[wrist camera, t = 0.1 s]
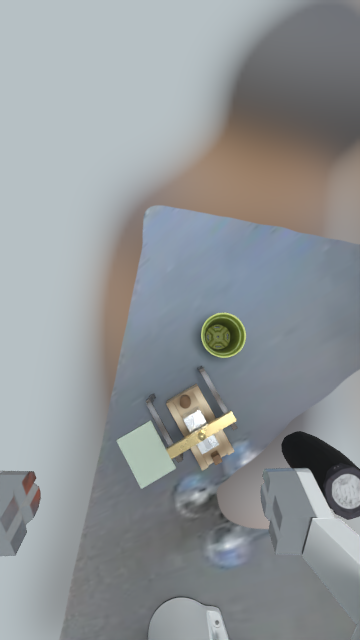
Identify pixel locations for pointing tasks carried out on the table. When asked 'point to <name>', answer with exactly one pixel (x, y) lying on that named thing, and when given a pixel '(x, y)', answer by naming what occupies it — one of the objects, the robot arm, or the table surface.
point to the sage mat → (146, 454)
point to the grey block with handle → (195, 422)
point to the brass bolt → (201, 434)
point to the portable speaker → (326, 471)
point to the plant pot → (223, 335)
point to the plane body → (178, 408)
